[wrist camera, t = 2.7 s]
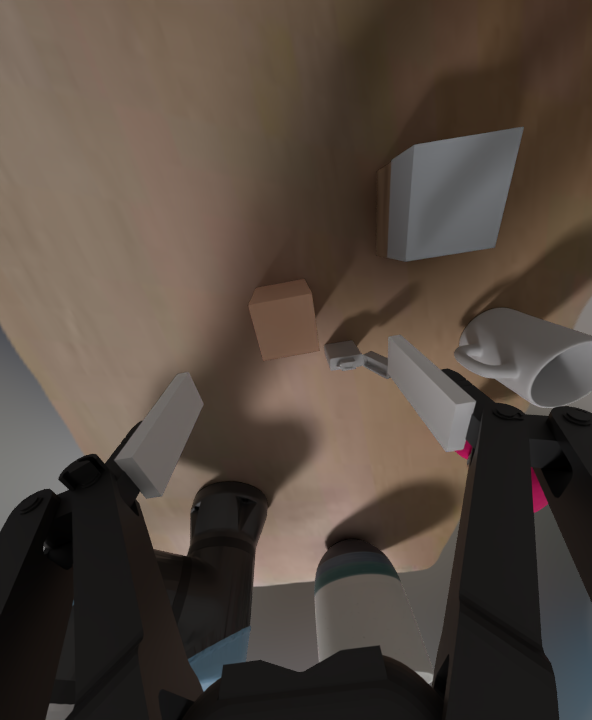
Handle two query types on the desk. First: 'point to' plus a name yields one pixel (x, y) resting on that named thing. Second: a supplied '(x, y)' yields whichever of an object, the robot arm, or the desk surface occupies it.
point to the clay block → (284, 319)
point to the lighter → (354, 358)
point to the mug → (528, 356)
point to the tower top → (450, 194)
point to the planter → (366, 607)
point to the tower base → (383, 210)
